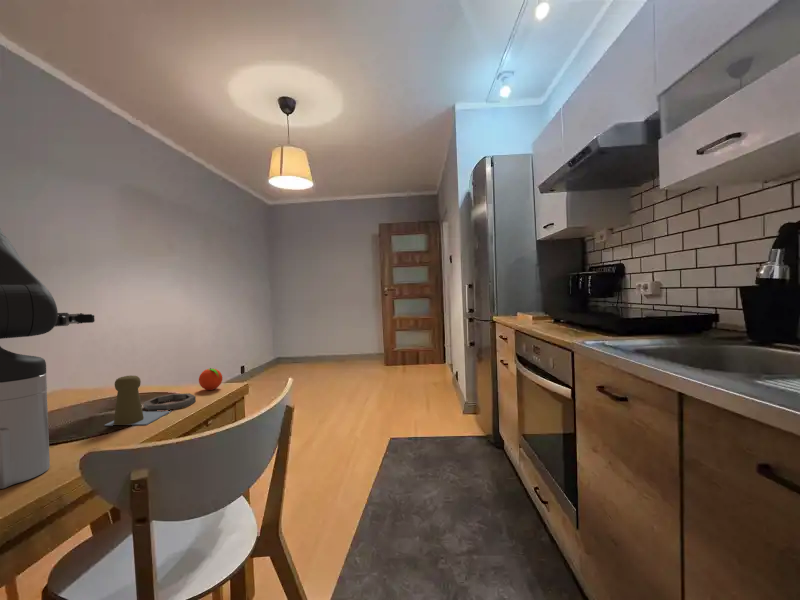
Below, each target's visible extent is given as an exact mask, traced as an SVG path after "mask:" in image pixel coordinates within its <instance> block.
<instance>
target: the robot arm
mask: <svg viewBox="0 0 800 600" xmlns="http://www.w3.org/2000/svg"><path fill="white" fill-rule="evenodd" d="M95 321H96V319H95V314H93V313H88V314H87V313H69V312H58V306H57V304H56V301H55V299H54V297H53V295H52V293H51V291H50V290H49V289H48V288H47V287H46V285H45V284H43V282H41V280H40V279H38V278H37V277H36V276H35V274H34V273H33V272H32V271H31V270H29V268H28V267H27V266H26V264H25V263H24V262H23V260H22V258H21V257H20V255H19V253H18V251H17V250H16V248H15V247H14V245H13V244H12V243H11V241H10V240H9V238H7V236H6V235H5V233H4V232H3V230H2V229H1V228H0V340H3V339H12V338H13V339H14V338H25V337H34V336H35V337H36V336H40V335H44V334H47V333H49V332H51V331H53V329H54V328H55V327H68V326H70V325H73V324H77V325H79V324H87V323H88V324H91V323H92V324H93V323H95ZM47 381H48V380H47V362H46V360H45V359H44V358H43V357H41V356H36V355H30V354H29V355H27V354H21V353H16V352H13V351H10V350H6V349H4V348H3V347H2V346H1V345H0V489H1V490H3V489H6V488H8V487H10V486H13V485H16V484H19V483H22V482H26V481H29V480H31V479H34V478H36V477H38V476H40V475H42V474H44V473H45V472H47V471H48V470H49V469H50V467H51V463H50V440H49V439H50V437H49V413H48V411H49V410H48V390H47V389H48V386H47V385H48V383H47Z"/></svg>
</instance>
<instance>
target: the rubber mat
mask: <svg viewBox="0 0 800 600" xmlns="http://www.w3.org/2000/svg"><path fill="white" fill-rule="evenodd" d="M142 412H143V417H144V419H143V420H141V421H139V422H136V423H132V424H131V425H132V426H148V425H149V424H150V425H151V424H152V423H153V422H155V421H157V420H159V419H160V417H161V418H162V416H163V417H165V416H166V415H168V414H170V413H171V412H172V410H170V411H162V412H161V411H147V410H146V411H145V410H142ZM169 412H170V413H169ZM113 425H115V424H114V420H112V421H109V422H107V423H106V424H104V427H114V426H113ZM127 425H130V424H127Z"/></svg>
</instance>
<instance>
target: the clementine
mask: <svg viewBox="0 0 800 600" xmlns="http://www.w3.org/2000/svg"><path fill="white" fill-rule="evenodd" d="M222 382H223V374H222V373H221V371H220V370H219V369H217V368H211V367H209V368H207V369H205V370H203V371H202V372H201V373H200V375H199V377H198V384H199V386H200V387H201V388H202V389H203V390H207V391H212V390H215V389H217V388H219V387H220V386H221V384H222Z"/></svg>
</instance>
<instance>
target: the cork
mask: <svg viewBox="0 0 800 600" xmlns="http://www.w3.org/2000/svg"><path fill="white" fill-rule="evenodd" d="M141 384H142V381H141V378H140V377H139V376H138V375H125V376H121V377H118V378H116V380H115V381H114V389H115V390H116V391H117V392H116V393H117V394H116V403H115V409H114V410H115V411H114V417H113V421H114V424H115V425H127V424H132V423H136V422H139V421H141V420H143V419H144V417H143V412H142V411H143V408H142V407H143V406H142V402H141V397H140V396H141V395H140V393H139V387H141Z"/></svg>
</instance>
